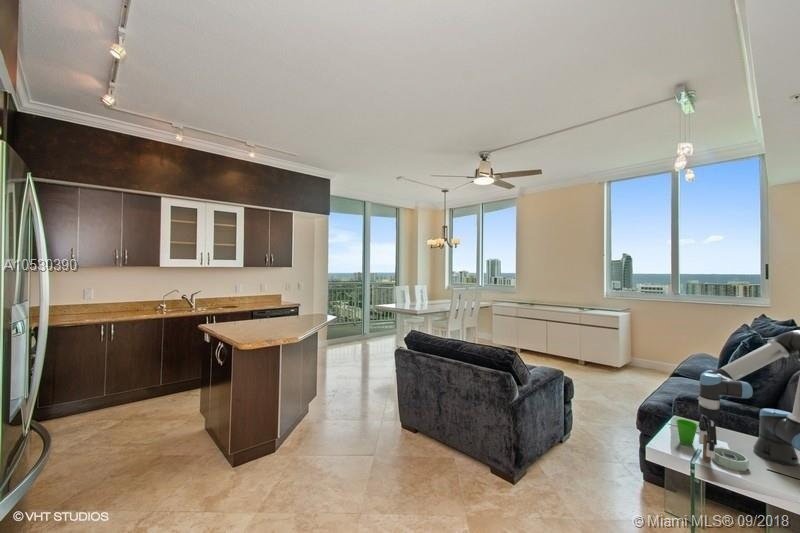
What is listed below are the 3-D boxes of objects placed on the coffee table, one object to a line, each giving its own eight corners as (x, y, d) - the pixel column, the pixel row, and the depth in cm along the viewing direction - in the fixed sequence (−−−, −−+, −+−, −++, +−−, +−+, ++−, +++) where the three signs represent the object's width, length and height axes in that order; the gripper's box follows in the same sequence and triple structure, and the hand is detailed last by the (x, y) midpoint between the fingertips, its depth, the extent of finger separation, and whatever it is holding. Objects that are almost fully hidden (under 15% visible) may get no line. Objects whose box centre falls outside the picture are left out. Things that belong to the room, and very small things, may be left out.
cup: (701, 448, 178) (702, 427, 178) (681, 446, 180) (682, 425, 179) (690, 440, 187) (691, 419, 186) (671, 437, 188) (672, 417, 188)
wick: (709, 460, 167) (710, 435, 167) (710, 462, 165) (711, 437, 165) (702, 458, 168) (703, 434, 168) (703, 461, 166) (704, 436, 166)
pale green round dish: (742, 460, 168) (742, 452, 168) (752, 473, 157) (752, 464, 157) (708, 452, 174) (708, 444, 174) (715, 464, 163) (715, 456, 163)
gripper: (692, 396, 179) (690, 437, 179) (705, 413, 157) (703, 460, 158) (711, 399, 175) (709, 441, 176) (727, 418, 154) (725, 465, 154)
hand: (706, 450), depth 167 cm, fingers open, 13 cm apart
